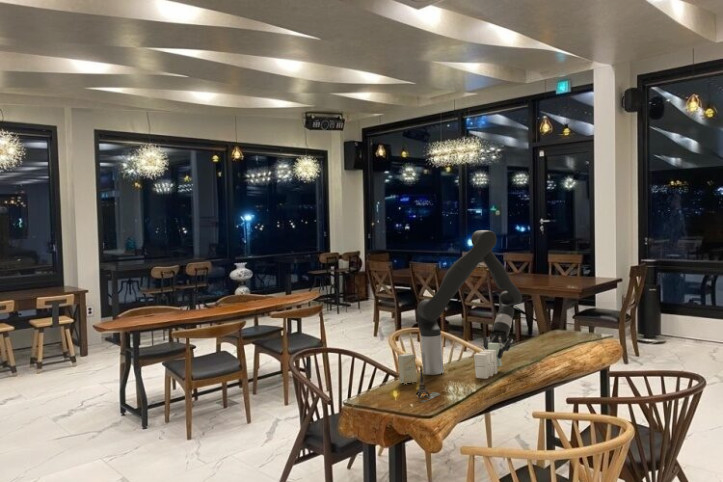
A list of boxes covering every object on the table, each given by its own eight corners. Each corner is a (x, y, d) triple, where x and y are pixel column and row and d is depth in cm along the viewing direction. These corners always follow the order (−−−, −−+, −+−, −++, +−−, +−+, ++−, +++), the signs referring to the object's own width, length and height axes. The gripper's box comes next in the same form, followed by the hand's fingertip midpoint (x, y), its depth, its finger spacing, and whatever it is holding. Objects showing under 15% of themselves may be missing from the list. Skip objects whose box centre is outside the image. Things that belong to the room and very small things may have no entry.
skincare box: (404, 385, 238) (402, 356, 238) (399, 383, 242) (397, 354, 242) (417, 382, 241) (415, 354, 241) (411, 380, 245) (409, 352, 245)
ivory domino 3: (495, 373, 246) (494, 351, 246) (485, 373, 249) (483, 350, 249) (497, 373, 248) (495, 350, 248) (487, 372, 251) (485, 349, 251)
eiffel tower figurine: (424, 403, 211) (422, 368, 211) (402, 400, 217) (399, 366, 217) (444, 393, 222) (442, 360, 222) (423, 391, 229) (420, 358, 229)
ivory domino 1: (486, 378, 239) (484, 355, 239) (475, 377, 242) (474, 354, 242) (488, 377, 240) (486, 354, 241) (477, 376, 244) (476, 353, 244)
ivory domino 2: (491, 376, 243) (489, 353, 243) (480, 375, 246) (478, 352, 246) (493, 375, 244) (491, 352, 244) (482, 374, 247) (480, 351, 247)
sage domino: (499, 366, 250) (498, 344, 250) (489, 365, 253) (487, 343, 253) (501, 365, 251) (499, 343, 251) (491, 364, 254) (489, 342, 254)
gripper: (485, 320, 262) (475, 351, 253) (514, 321, 253) (505, 353, 244) (490, 330, 266) (481, 360, 257) (519, 331, 258) (511, 363, 248)
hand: (493, 357), depth 251 cm, fingers closed on sage domino, 5 cm apart
